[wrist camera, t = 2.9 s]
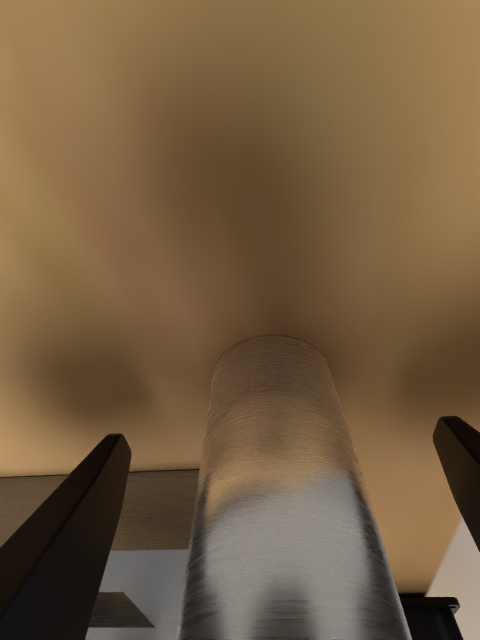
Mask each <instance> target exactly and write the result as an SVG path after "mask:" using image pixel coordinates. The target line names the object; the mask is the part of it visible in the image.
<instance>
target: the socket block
mask: <svg viewBox="0 0 480 640" xmlns="http://www.w3.org/2000/svg"><path fill="white" fill-rule="evenodd" d="M67 476H68V475H62V476H37V477H13V478H0V547H1V546H2V545H3V544H4V543H5V542H6V541H7V539H8V538H9V537H10V536H11V535H12V534H13V533H14V532H15V531H16V530H17V529H18V528H19V527H20V526H21V525H22V524H23V523H24V522H25V521H26V520H27V518H28V517H29V516H30V515H31V514H32V513H33V512H34V511H35V510H36V509H37V508H38V507H39V506H40V505H41V504H42V503H43V502H44V501H45V500H46V499H47V497H48V496H49V495H50V494H51V493H52V492H53V491H54V490H55V489H56V488H57V487H58V486H59V485H60V484H61V483H62V482H63V481H64V480H65V479H66V478H67ZM198 477H199V470H183V471H159V472H135V473H128V478H127V484H126V489H125V495H124V501H123V506H122V511H121V514H120V518H119V522H118V525H117V529H116V533H115V536H114V540H113V543H112V547H111V550H110V554H109V557H108V561H107V564H106V568H105V571H104V575H103V579H102V582H101V586H100V589H99V593H98V596H97V600H96V603H95V607H94V610H93V614H92V617H91V621H90V624H89V628H88V632H87V635H86V639H85V640H176V635H177V628H178V621H179V614H180V607H181V599H182V592H183V585H184V578H185V571H186V564H187V556H188V549H189V542H190V535H191V528H192V520H193V513H194V506H195V499H196V492H197V485H198Z"/></svg>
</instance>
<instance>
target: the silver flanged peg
mask: <svg viewBox="0 0 480 640" xmlns="http://www.w3.org/2000/svg"><path fill="white" fill-rule="evenodd" d="M176 640H412V637H411V634H410V631H409V627H408V624H407V621H406V618H405V614H404V611H403V608H402V604H401V601H400V598H399V595H398V591H397V588H396V585H395V581H394V578H393V575H392V572H391V568H390V565H389V562H388V558H387V555H386V552H385V549H384V545H383V542H382V539H381V536H380V532H379V529H378V526H377V522H376V519H375V516H374V513H373V509H372V506H371V503H370V499H369V496H368V493H367V490H366V486H365V483H364V480H363V476H362V473H361V470H360V467H359V463H358V460H357V457H356V453H355V450H354V447H353V444H352V440H351V437H350V434H349V430H348V427H347V424H346V421H345V417H344V414H343V411H342V407H341V404H340V401H339V398H338V394H337V391H336V388H335V384H334V381H333V378H332V375H331V371H330V368H329V365H328V363H327V361H326V360H325V358H324V356H323V355H322V354H321V353H320V352H319V351H318V350H317V349H315V348H314V347H313V346H311V345H309V344H308V343H306V342H303V341H301V340H298V339H295V338H291V337H286V336H277V335H272V336H260V337H255V338H251V339H248V340H245V341H243V342H241V343H239V344H237V345H235V346H233V347H232V348H230V349H229V350H228V351H227V352H225V353H224V354H223V355H222V357H221V358H220V359H219V361H218V362H217V364H216V366H215V368H214V372H213V377H212V384H211V391H210V398H209V406H208V413H207V420H206V427H205V434H204V441H203V449H202V456H201V463H200V470H199V477H198V485H197V492H196V499H195V506H194V513H193V520H192V528H191V535H190V542H189V549H188V556H187V564H186V571H185V578H184V585H183V592H182V599H181V607H180V614H179V621H178V628H177V635H176Z"/></svg>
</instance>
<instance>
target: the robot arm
mask: <svg viewBox="0 0 480 640" xmlns="http://www.w3.org/2000/svg"><path fill="white" fill-rule="evenodd" d="M433 442H434V445H435V448H436V451H437V453H438V456H439V459H440V462H441V464H442V467H443V470H444V473H445V475H446V478H447V481H448V484H449V486H450V489H451V492H452V494H453V497H454V499H455V502H456V504H457V506H458V508H459V510H460V512H461V515H462V517H463V519H464V521H465V523H466V525H467V527H468V529H469V531H470V533H471V535H472V537H473V539H474V541H475V543H476V545H477V548H478V550H479V552H480V432H478V431H477V430H476V429H474V428H473V427H471V426H470V425H469V424H467V423H466V422H465V421H463V420H462V419H461V418H459V417H457V416H442V417H440V418H439V419H438V422H437V425H436V428H435V430H434V433H433ZM130 461H131V449H130V447H129V445H128V443H127V441H126V439H125V437H124V435H123V434H121V433H118V434H109V435H107V436H106V437H105V438H104V439H103V440H102V441H101V442H100V443H99V444H98V445H97V446H96V447H95V448H94V449H93V450H92V451H91V452H90V453H89V454H88V455H87V457H86V458H85V459H84V460H83V461H82V462H81V463H80V464H79V465H78V466H77V467H76V468H75V469H74V470H73V471H72V472H71V473H70V474H69V475H68V476H67V478H66V479H65V480H64V481H63V482H62V483H61V484H60V485H59V486H58V487H57V488H56V489H55V490H54V491H53V492H52V493H51V494H50V495H49V496H48V497H47V499H46V500H45V501H44V502H43V503H42V504H41V505H40V506H39V507H38V508H37V509H36V510H35V511H34V512H33V513H32V514H31V515H30V516H29V517H28V518H27V520H26V521H25V522H24V523H23V524H22V525H21V526H20V527H19V528H18V529H17V530H16V531H15V532H14V533H13V534H12V535H11V536H10V537H9V538H8V539H7V541H6V542H5V543H4V544H3V545H2V546H1V547H0V640H85V639H86V635H87V632H88V628H89V624H90V621H91V617H92V614H93V610H94V607H95V603H96V600H97V596H98V593H99V589H100V586H101V582H102V579H103V575H104V571H105V568H106V564H107V561H108V557H109V554H110V550H111V547H112V543H113V540H114V536H115V533H116V529H117V525H118V522H119V518H120V514H121V511H122V506H123V501H124V495H125V489H126V484H127V478H128V472H129V467H130ZM399 598H400V601H401V604H402V608H403V611H404V614H405V618H406V621H407V624H408V627H409V631H410V634H411V637H412V640H463V637H462V635H461V633H460V630H459V627H458V625H457V623H456V620H455V617H454V614H455V613H456V612H457V610H458V609H459V608H460V605H459V602H458V600H457V598H454V597H399Z"/></svg>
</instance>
